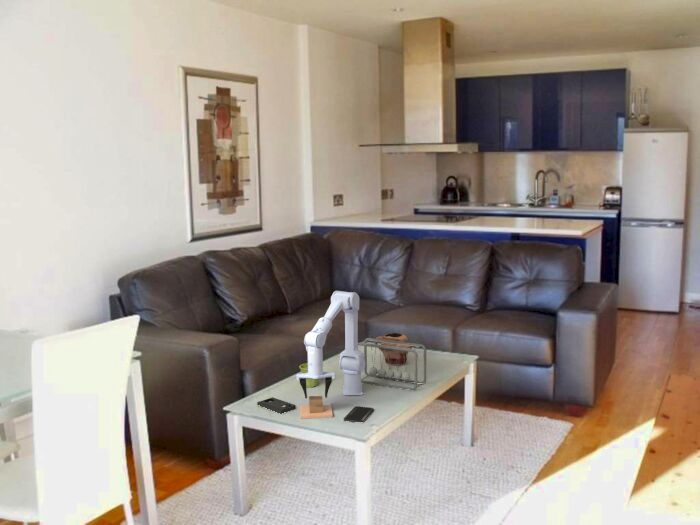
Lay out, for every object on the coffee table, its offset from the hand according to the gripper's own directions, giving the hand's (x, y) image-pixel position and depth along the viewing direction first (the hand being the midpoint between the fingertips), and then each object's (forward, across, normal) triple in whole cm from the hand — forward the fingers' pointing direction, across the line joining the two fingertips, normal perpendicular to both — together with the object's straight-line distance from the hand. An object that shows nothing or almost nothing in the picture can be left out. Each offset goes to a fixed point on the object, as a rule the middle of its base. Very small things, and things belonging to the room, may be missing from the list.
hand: (316, 397), depth 278 cm
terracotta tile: (+6, 0, 0) cm, 6 cm away
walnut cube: (+5, 0, 0) cm, 5 cm away
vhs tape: (+7, -15, +8) cm, 19 cm away
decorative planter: (+7, +39, +64) cm, 75 cm away
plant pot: (+6, -1, +34) cm, 35 cm away
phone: (+7, +16, -5) cm, 18 cm away
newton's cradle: (+7, +33, +33) cm, 47 cm away
